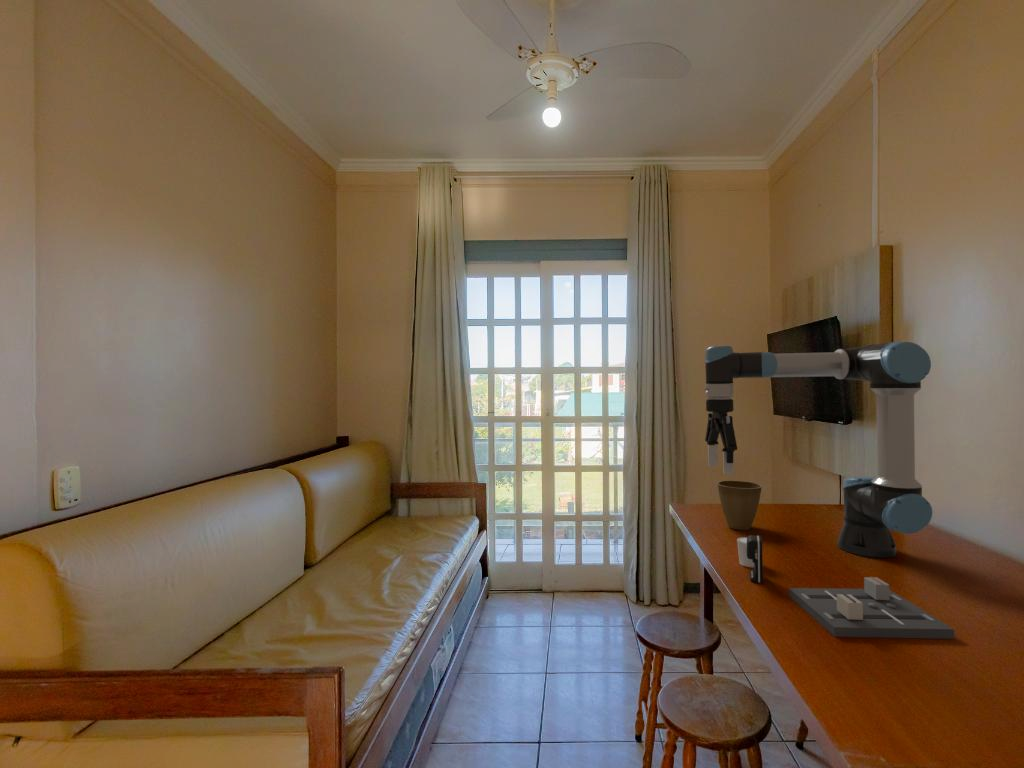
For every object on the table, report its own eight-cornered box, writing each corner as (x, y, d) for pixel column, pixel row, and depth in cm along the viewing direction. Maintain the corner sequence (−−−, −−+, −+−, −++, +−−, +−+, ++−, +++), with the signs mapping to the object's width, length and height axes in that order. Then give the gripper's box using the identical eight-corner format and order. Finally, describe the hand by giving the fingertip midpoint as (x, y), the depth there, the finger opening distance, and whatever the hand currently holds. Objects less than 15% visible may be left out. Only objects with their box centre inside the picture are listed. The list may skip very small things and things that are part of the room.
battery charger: (746, 573, 141) (746, 532, 141) (761, 574, 140) (761, 534, 140) (747, 582, 135) (746, 540, 135) (762, 584, 133) (762, 541, 133)
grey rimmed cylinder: (765, 568, 144) (765, 544, 144) (740, 567, 145) (739, 543, 145) (758, 560, 151) (758, 537, 151) (734, 559, 152) (734, 536, 152)
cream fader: (850, 610, 113) (850, 593, 113) (862, 619, 108) (862, 601, 108) (836, 610, 113) (836, 592, 113) (848, 619, 108) (848, 601, 108)
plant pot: (760, 535, 174) (759, 489, 174) (714, 529, 182) (713, 485, 182) (764, 524, 186) (763, 482, 186) (721, 519, 194) (721, 478, 194)
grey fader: (877, 592, 122) (876, 576, 122) (889, 600, 117) (889, 583, 117) (864, 592, 122) (864, 576, 122) (876, 599, 118) (875, 583, 118)
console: (888, 597, 124) (888, 586, 124) (954, 638, 104) (953, 626, 104) (788, 595, 126) (788, 585, 126) (834, 636, 106) (834, 624, 106)
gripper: (694, 397, 161) (695, 462, 161) (720, 400, 136) (722, 478, 136) (718, 396, 160) (719, 462, 160) (749, 399, 135) (750, 478, 135)
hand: (720, 470), depth 148 cm, fingers open, 13 cm apart
